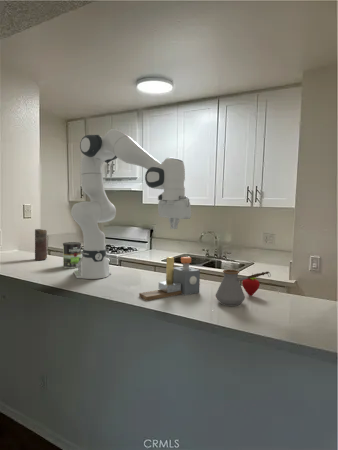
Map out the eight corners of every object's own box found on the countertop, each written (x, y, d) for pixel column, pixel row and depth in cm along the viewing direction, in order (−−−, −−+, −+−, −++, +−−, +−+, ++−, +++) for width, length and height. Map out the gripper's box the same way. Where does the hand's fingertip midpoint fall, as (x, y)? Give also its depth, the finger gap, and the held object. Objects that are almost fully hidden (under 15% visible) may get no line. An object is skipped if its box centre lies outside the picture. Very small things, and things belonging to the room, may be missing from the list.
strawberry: (244, 292, 139) (245, 270, 138) (261, 295, 135) (262, 273, 134) (239, 295, 134) (240, 272, 133) (256, 299, 130) (257, 275, 129)
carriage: (158, 288, 136) (159, 257, 135) (171, 286, 140) (172, 255, 139) (167, 292, 130) (168, 259, 129) (180, 290, 134) (181, 258, 133)
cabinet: (171, 289, 142) (172, 267, 141) (185, 287, 146) (186, 266, 145) (185, 295, 133) (186, 272, 132) (200, 292, 137) (200, 270, 136)
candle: (39, 258, 210) (38, 228, 208) (49, 258, 208) (49, 229, 207) (32, 260, 202) (32, 229, 201) (43, 260, 201) (42, 230, 199)
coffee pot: (210, 303, 123) (211, 266, 122) (223, 296, 132) (224, 261, 131) (263, 316, 110) (264, 274, 109) (273, 307, 119) (275, 269, 118)
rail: (139, 296, 130) (139, 293, 130) (173, 290, 140) (173, 287, 140) (146, 300, 125) (146, 296, 125) (181, 294, 135) (181, 290, 135)
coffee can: (83, 267, 185) (83, 243, 184) (66, 269, 179) (66, 244, 178) (76, 264, 193) (76, 241, 192) (60, 266, 187) (60, 242, 186)
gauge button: (178, 281, 140) (178, 257, 139) (186, 280, 142) (187, 256, 142) (184, 284, 136) (185, 259, 135) (192, 282, 139) (193, 258, 138)
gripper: (195, 196, 125) (194, 230, 126) (167, 196, 142) (167, 227, 143) (182, 195, 122) (181, 231, 123) (155, 196, 139) (155, 227, 140)
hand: (173, 228), depth 133 cm, fingers closed
